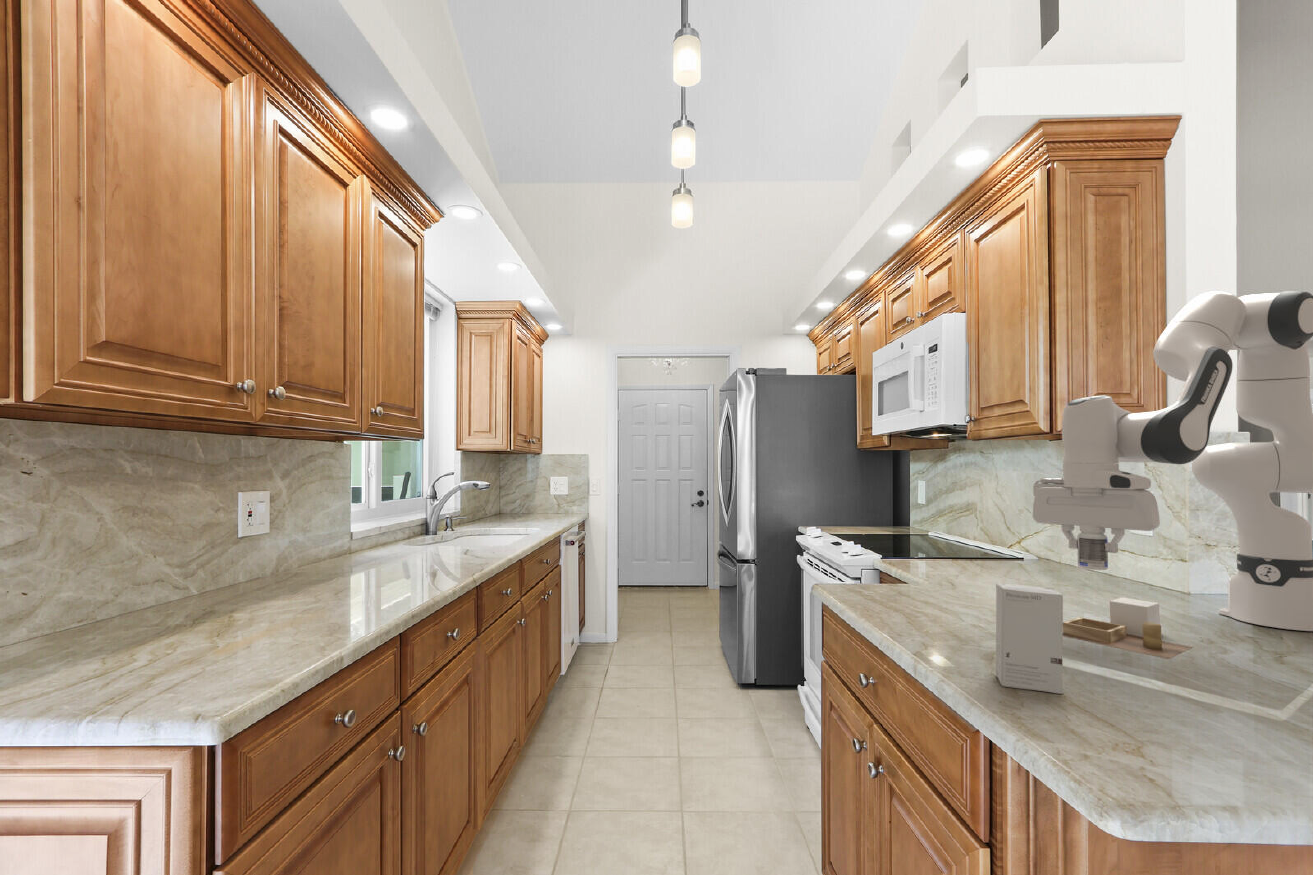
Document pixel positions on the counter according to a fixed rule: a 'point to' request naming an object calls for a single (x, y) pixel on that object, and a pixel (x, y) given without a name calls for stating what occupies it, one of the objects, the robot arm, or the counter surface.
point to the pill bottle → (1092, 548)
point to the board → (1123, 637)
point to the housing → (1133, 614)
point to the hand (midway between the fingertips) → (1092, 550)
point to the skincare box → (1029, 637)
